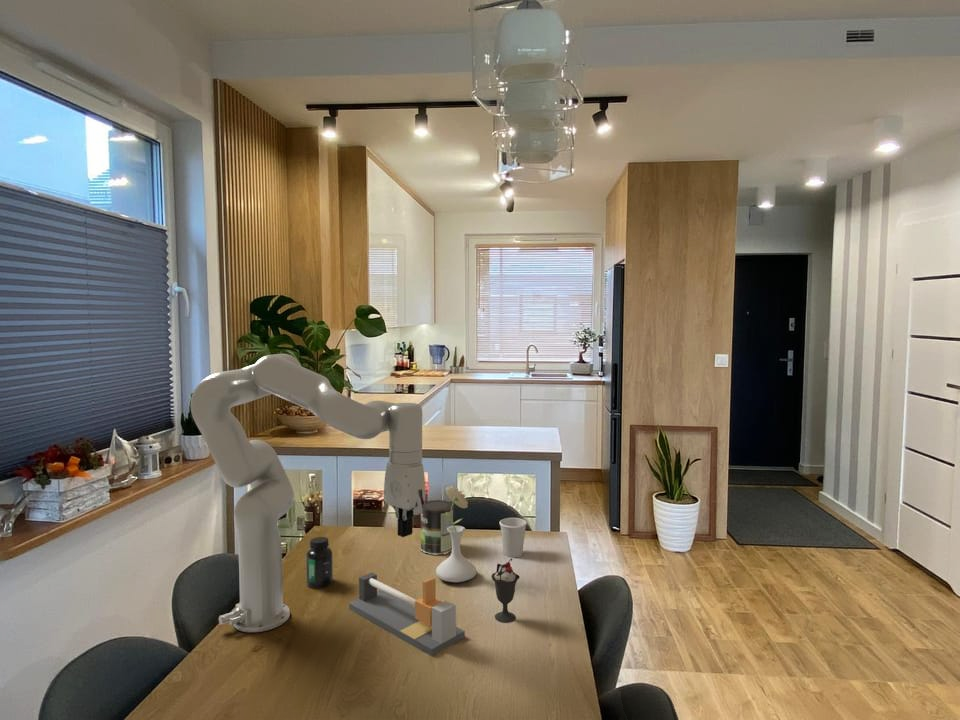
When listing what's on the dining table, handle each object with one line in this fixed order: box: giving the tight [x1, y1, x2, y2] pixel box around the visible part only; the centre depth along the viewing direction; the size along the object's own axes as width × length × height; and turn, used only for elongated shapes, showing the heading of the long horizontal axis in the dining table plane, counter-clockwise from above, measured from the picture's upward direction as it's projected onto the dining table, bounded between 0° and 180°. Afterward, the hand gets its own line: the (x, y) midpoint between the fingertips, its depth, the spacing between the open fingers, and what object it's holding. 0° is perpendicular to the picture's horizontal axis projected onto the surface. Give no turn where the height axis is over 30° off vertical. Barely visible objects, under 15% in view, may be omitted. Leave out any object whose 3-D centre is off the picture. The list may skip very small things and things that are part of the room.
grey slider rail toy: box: [348, 572, 466, 657], centre depth 136 cm, size 30×10×8 cm, turn 47°
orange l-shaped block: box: [415, 576, 443, 626], centre depth 129 cm, size 5×4×9 cm
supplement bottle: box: [305, 536, 334, 589], centre depth 156 cm, size 7×7×12 cm
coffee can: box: [420, 499, 454, 555], centre depth 180 cm, size 10×10×14 cm
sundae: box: [491, 558, 521, 623], centre depth 138 cm, size 7×7×15 cm
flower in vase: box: [435, 485, 478, 583], centre depth 160 cm, size 13×11×25 cm
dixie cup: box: [499, 517, 528, 559], centre depth 176 cm, size 8×8×10 cm
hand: (405, 534), depth 134 cm, fingers closed
